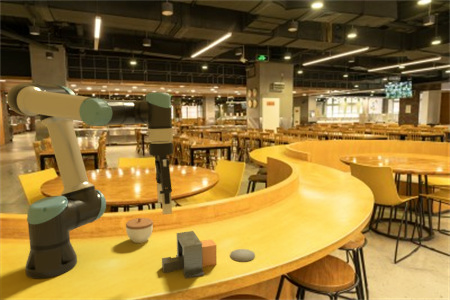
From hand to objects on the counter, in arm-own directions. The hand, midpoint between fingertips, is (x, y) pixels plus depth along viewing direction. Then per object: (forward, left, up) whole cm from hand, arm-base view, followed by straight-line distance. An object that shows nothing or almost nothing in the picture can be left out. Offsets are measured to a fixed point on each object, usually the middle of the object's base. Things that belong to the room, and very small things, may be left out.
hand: (164, 207), depth 96 cm
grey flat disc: (-1, +28, -22) cm, 35 cm away
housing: (-1, +8, -22) cm, 23 cm away
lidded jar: (-29, -6, -22) cm, 37 cm away
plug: (-1, +8, -22) cm, 23 cm away
